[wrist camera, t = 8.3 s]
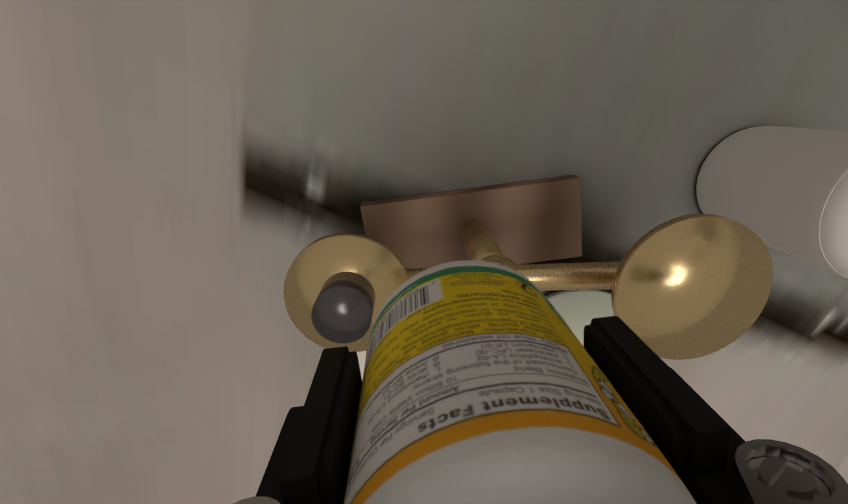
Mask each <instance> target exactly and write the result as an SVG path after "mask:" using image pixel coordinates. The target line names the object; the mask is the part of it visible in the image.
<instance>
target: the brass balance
mask: <svg viewBox="0 0 848 504" xmlns="http://www.w3.org/2000/svg"><path fill="white" fill-rule="evenodd" d="M360 208H361V214H362V220H363V225H364V231H365V235H360V234H355V233H338V234H333V235H328V236H325V237H322V238H320V239H318V240H316V241H314V242H313V243H311V244H310V245H308V246H307V247H306V248H305V249H304V250H302V251H301V253H300V254H299V255H298V256H297V257H296V259H295V260H294V261H293V263H292V265H291V266H290V268H289V270H288V273H287V275H286V279H285V284H284V300H285V305H286V308H287V311H288V314H289V316H290V318H291V320H292V321H293V323H294V324H295V326H296V327H297V328H298V329H299V330H300V332H301V333H303V334H304V335H305V336H306V337H307V338H308V339H310V340H311V341H313V342H314V343H316V344H318V345H320V346H322V347H325V348H336V347H345V346H347V347H348V349H349V352H353V351H356V352H361V351H367V347H368V342H369V337H370V333H371V330H372V326H373V324H374V321H375V319H376V317H377V315H378V313H379V311H380V309H381V307H382V306H383V304H384V303H385V302H386V300H387V299H388V298H389V296H390V295H391V294H392V293H393V292H394V291H395V290H396V289H397V288H398V287H399V286H401V285H402V284H403V283H404V282H405V281H407V280H408V279H410V278H411V277H413V276H415V275H416V274H418V273H420V272H422V271H424V270H426V269H429V268H431V267H433V266H436V265H439V264H443V263H447V262H453V261H464V260H477V261H486V262H493V263H496V264H500V265H504V266H506V267H509V268H511V269H513V270H515V271H517V272H519V273H521V274H522V275H523V276H525V277H526V278H528V279H529V280H530V281H532V282H533V283H534V284H535V285H536V287H537V288H538V289H539V290H594V289H612V293H611V302H612V309H613V314H614V316H618V317H619V318H620V319H621V320H622V321H623V322H624V323H625V324H626V325H627V326H628V327H629V328H630V329H631V330H632V331H633V332H634V333H635V334H636V335H637V336H638V337H639V338H640V339H641V340H642V341H643V342H644V343H645V344H646V345H647V346H648V347H649V348H650V349H651V350H652V351H653V352H654V353H655V354H656V355H657V356H658V357H661V358H666V359H677V360H681V359H692V358H697V357H701V356H705V355H708V354H711V353H713V352H716V351H718V350H720V349H722V348H724V347H726V346H727V345H729V344H730V343H732V342H733V341H735V340H736V339H737V338H739V337H740V336H741V335H742V334H743V333H744V332H745V331H746V330H747V329H748V328H749V327H750V326H751V325H752V324H753V323H754V322H755V320H756V319H757V318H758V316H759V315H760V313H761V312H762V310H763V308H764V306H765V304H766V302H767V299H768V297H769V294H770V290H771V286H772V278H773V269H772V262H771V257H770V254H769V252H768V249H767V247H766V246H765V244H764V242H763V241H762V239H761V238H760V237H759V236H758V235H757V234H756V233H755V232H754V231H752V230H751V229H750V228H749V227H747V226H745V225H743V224H741V223H739V222H736V221H734V220H731V219H728V218H725V217H723V216H718V215H714V214H691V215H685V216H681V217H678V218H674V219H671V220H669V221H667V222H664V223H662V224H660V225H658V226H657V227H655V228H653V229H652V230H650V231H649V232H648V233H646V234H645V235H644V236H642V237H641V238H640V239H639V240H638V241H637V242H636V243H635V244H634V245H633V246H632V247H631V249H630V250H629V251H628V252H627V254H626V255H625V257H624V258H623V260H622V261H621V262H593V263H560V264H528V265H517V264H525V263H533V262H541V261H549V260H557V259H565V258H572V257H580V256H582V205H581V178H580V177H578V176H576V175H568V176H560V177H553V178H545V179H537V180H529V181H522V182H514V183H506V184H499V185H491V186H483V187H476V188H468V189H460V190H453V191H445V192H437V193H430V194H422V195H414V196H406V197H399V198H391V199H383V200H376V201H368V202H362V204H361V206H360Z"/></svg>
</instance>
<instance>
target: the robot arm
mask: <svg viewBox="0 0 848 504" xmlns="http://www.w3.org/2000/svg"><path fill="white" fill-rule="evenodd" d="M584 348H585V350H586V351H587V352H588V354H589V355H590V356H591V358H592V359H593V360H594V362H595V363H596V364H597V366H598V367H599V368H600V369H601V371H602V372H603V373H604V375H605V376H606V377H607V379H608V380H609V381H610V383H611V384H612V386H613V387H614V389H615V390H616V391H617V393H618V394H619V395H620V397H621V398H622V399H623V401H624V402H625V403H626V405H627V406H628V407H629V409H630V410H631V412H632V413H633V415H634V416H635V417H636V418H637V420H638V421H639V422H640V424H641V425H642V426H643V428H644V429H645V431H646V432H647V433H648V435H649V436H650V437H651V439H652V440H653V442H654V443H655V444H656V446H657V447H658V448H659V450H660V451H661V453H662V454H663V455H664V457H665V458H666V460H667V461H668V462H669V464H670V465H671V467H672V468H673V469H674V471H675V472H676V474H677V475H678V476H679V478H680V479H681V481H682V482H683V484H684V485H685V486H686V488H687V489H688V491H689V492H690V494H691V495H692V497H693V498H694V500H695V502H696V503H697V504H848V484H847V483H846V481H845V480H844V479H843V477H842V476H841V475H840V474H839V473H838V472H837V471H836V470H835V469H834V468H833V467H832V466H831V465H830V464H828V463H827V462H826V461H824V460H823V459H821V458H820V457H818V456H817V455H815V454H813V453H811V452H809V451H807V450H805V449H803V448H800V447H797V446H794V445H791V444H788V443H785V442H780V441H775V440H763V439H755V440H751V441H747V442H745V441H744V440H743V439H742V438H741V437H740V436H739V435H738V434H737V433H736V432H735V431H734V430H733V429H732V428H731V427H730V426H729V425H728V424H727V423H726V422H725V421H724V420H723V419H722V418H721V417H720V416H719V415H718V414H717V413H716V412H715V411H714V410H713V409H712V408H711V407H710V406H709V405H708V404H707V403H706V402H705V401H704V400H703V399H702V398H701V397H700V396H699V395H698V394H697V393H696V392H695V391H694V390H693V389H692V388H691V387H690V386H689V385H688V384H687V383H686V382H685V381H684V380H683V379H682V378H681V377H680V376H679V375H678V374H677V373H676V372H675V371H674V370H673V369H671V368H670V367H669V366H667V365H666V364H665V363H664V362H663V361H662V360H661V359H660V358H659V357H658V356H657V355H656V354H655V353H654V352H653V351H652V350H651V349H650V348H649V347H648V346H647V345H646V344H645V343H644V342H643V341H642V340H641V339H640V338H639V337H638V336H637V335H636V334H635V333H634V332H633V331H632V330H631V329H630V328H629V327H628V326H627V325H626V324H625V323H624V322H623V321H622V320H621V319H620V318H619V317H618V316H609V317H600V318H593V319H592V320H591V323H590V325H585V327H584ZM361 387H362V378H361V372H360V366H359V361H358V356H357V352H356V351H353V352H349V349H348V347H347V346H345V347H336V348H327V349H324V350H323V352H322V355H321V358H320V361H319V364H318V367H317V369H316V372H315V375H314V378H313V381H312V384H311V387H310V390H309V393H308V396H307V399H306V402H305V404H304V406H300V407H293V408H291V409H290V410H289V412H288V414H287V417H286V419H285V422H284V424H283V427H282V429H281V432H280V435H279V437H278V440H277V442H276V445H275V448H274V450H273V453H272V455H271V458H270V460H269V463H268V466H267V468H266V471H265V473H264V476H263V479H262V481H261V484H260V486H259V489H258V491H257V494H256V496H255V497H251V498H247V499H242V500H240V501H238V502H236V503H234V504H343V503H344V497H345V491H346V485H347V479H348V473H349V467H350V460H351V452H352V446H353V441H354V435H355V429H356V422H357V415H358V408H359V401H360V394H361Z"/></svg>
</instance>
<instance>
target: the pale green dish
mask: <svg viewBox="0 0 848 504" xmlns="http://www.w3.org/2000/svg"><path fill="white" fill-rule="evenodd" d="M545 297H546V298H547V299H548V301H550V302H551V304H552V305H553V306H554V308H555V309H556V310H557V311H558V313H559V314H560V315H561V316H562V318H563V319H564V320H565V322H566V323H567V325H568V326H569V328H570V329H571V330H572V332H573V333H574V335H575V336H576V337H577V339H578V340H579V341H580V343H581V344H582V345H583V347H584V327H585V325H590V323H591V320H592V319H593V318H600V317H609V316H614V314H613V309H612V302H611V292H607V291H604V290H600V289H594V290H561V291H558V292H554V293H551V294H549V295H547V296H545Z"/></svg>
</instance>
